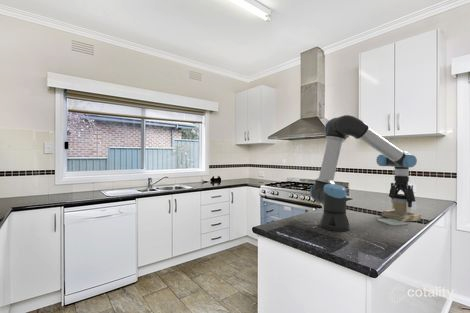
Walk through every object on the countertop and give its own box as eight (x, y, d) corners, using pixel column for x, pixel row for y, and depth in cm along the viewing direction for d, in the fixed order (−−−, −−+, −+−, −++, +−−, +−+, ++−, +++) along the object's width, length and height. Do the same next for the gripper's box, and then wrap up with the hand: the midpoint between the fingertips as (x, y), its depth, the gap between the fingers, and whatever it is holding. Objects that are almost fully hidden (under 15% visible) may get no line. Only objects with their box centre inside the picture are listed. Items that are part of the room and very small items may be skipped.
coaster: (392, 225, 136) (392, 224, 136) (376, 220, 146) (376, 219, 146) (407, 224, 138) (407, 223, 138) (391, 219, 149) (391, 218, 149)
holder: (401, 221, 143) (401, 216, 143) (382, 215, 157) (382, 210, 157) (420, 220, 146) (420, 214, 146) (400, 214, 160) (400, 209, 160)
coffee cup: (404, 216, 156) (404, 193, 156) (413, 220, 147) (414, 196, 146) (389, 216, 157) (389, 193, 157) (397, 219, 147) (397, 196, 147)
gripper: (423, 176, 141) (422, 214, 142) (391, 173, 163) (391, 206, 163) (412, 177, 140) (412, 214, 140) (382, 174, 162) (382, 206, 162)
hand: (401, 210), depth 152 cm, fingers closed on coffee cup, 9 cm apart
